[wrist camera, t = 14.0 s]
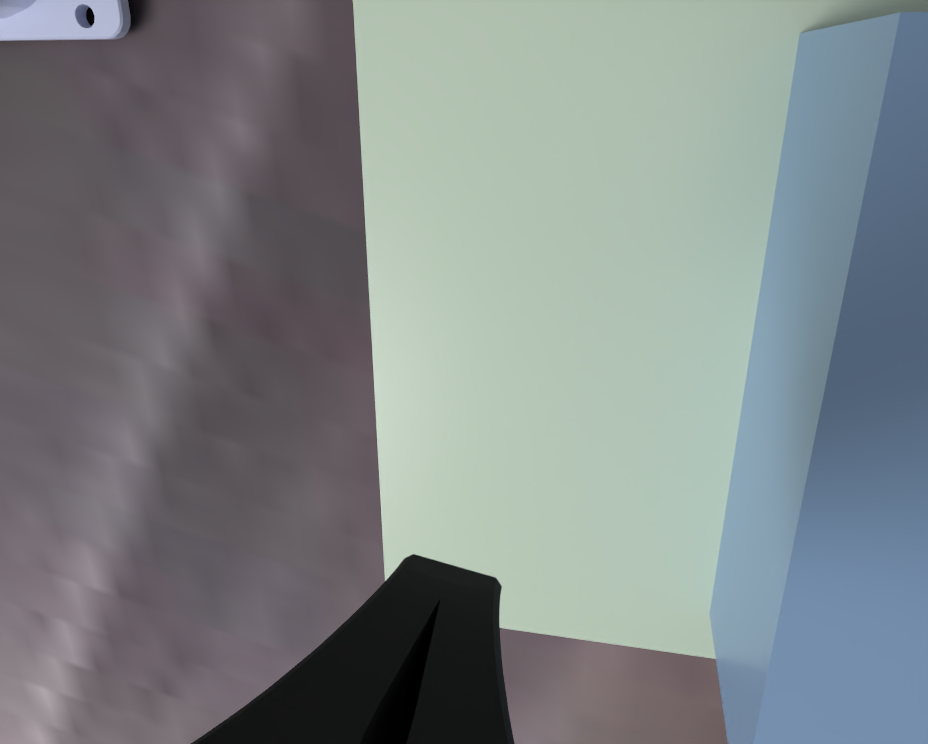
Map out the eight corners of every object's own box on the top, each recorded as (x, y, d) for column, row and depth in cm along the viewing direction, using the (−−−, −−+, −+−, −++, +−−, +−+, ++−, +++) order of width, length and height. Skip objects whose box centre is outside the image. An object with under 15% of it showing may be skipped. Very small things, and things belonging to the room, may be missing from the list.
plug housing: (709, 613, 20) (738, 817, 15) (799, 33, 15) (900, 12, 9) (909, 640, 19) (1021, 868, 14) (1088, 29, 14) (1393, 3, 8)
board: (396, 590, 23) (386, 611, 22) (325, -871, 12) (300, -947, 11) (934, 664, 20) (948, 692, 19) (1511, -1185, 9) (1609, -1324, 8)
